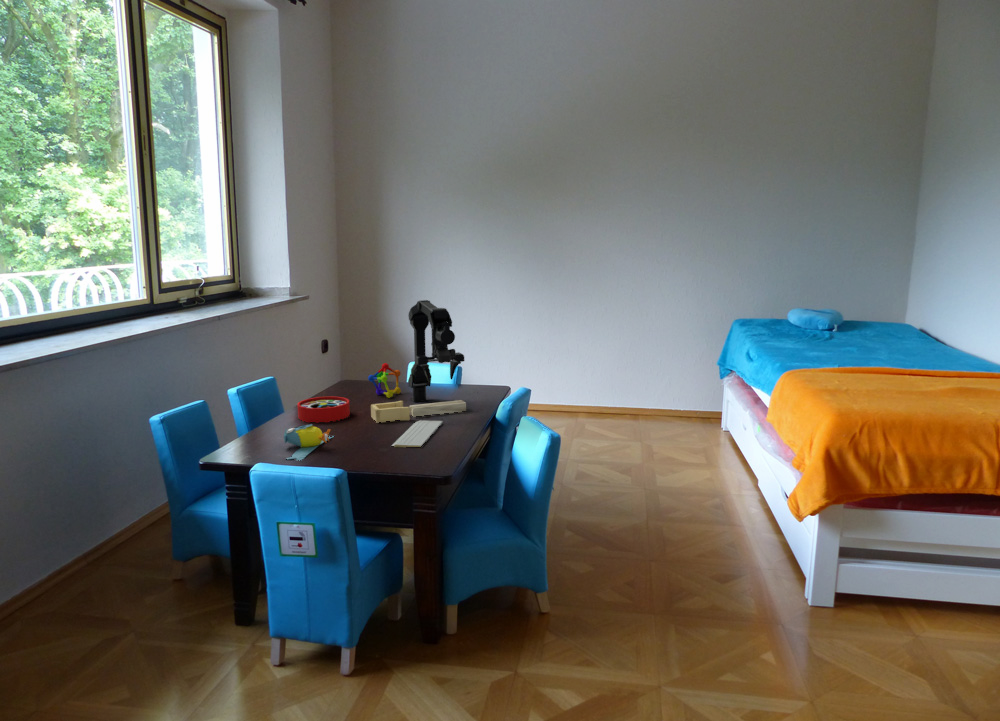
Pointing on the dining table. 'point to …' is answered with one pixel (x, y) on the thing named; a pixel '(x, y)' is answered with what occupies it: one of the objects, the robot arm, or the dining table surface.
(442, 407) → the ash slat
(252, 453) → the dining table surface
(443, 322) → the robot arm
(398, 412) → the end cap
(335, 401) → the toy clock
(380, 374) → the educational toy
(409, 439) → the baseboard molding
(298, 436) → the toy airplane
